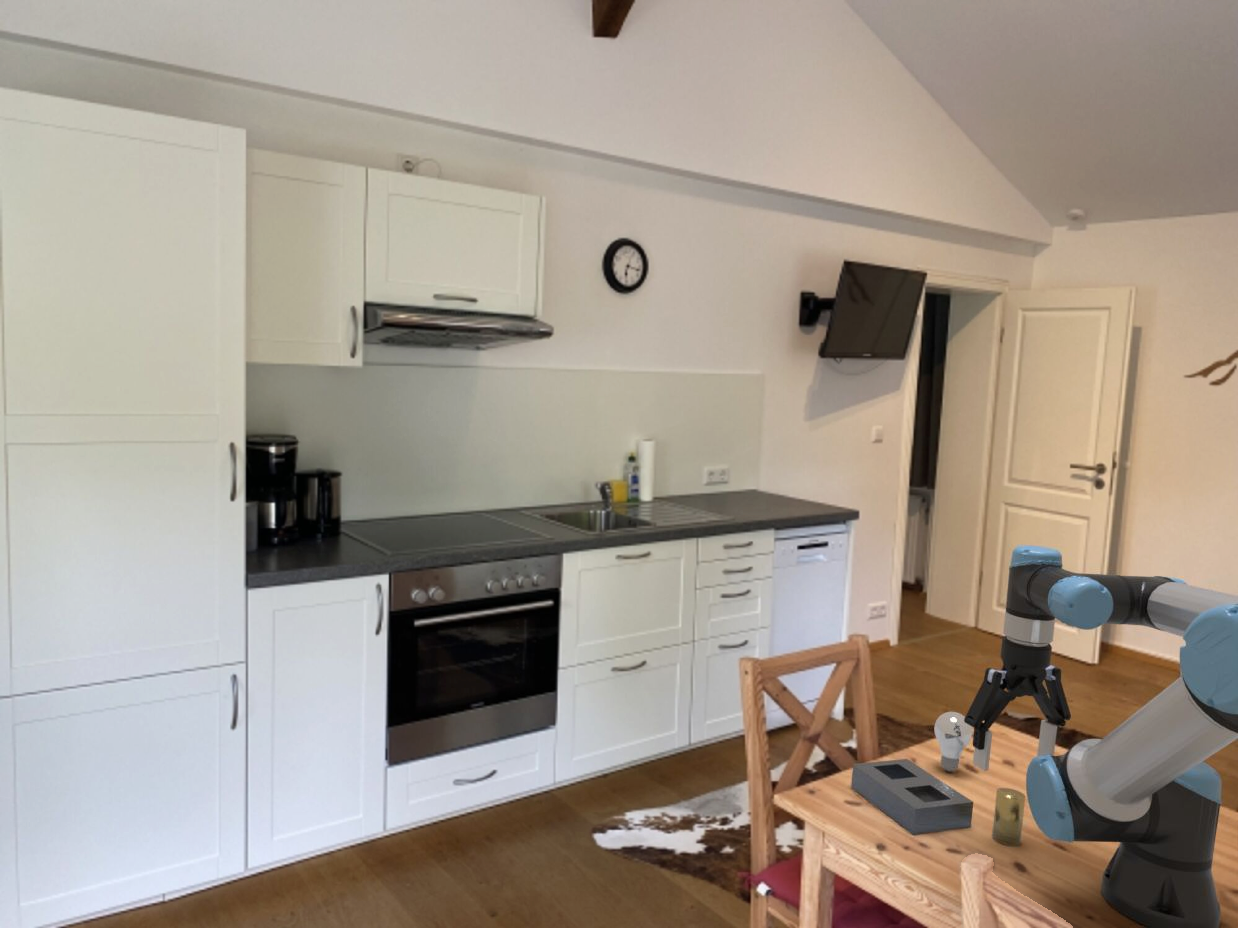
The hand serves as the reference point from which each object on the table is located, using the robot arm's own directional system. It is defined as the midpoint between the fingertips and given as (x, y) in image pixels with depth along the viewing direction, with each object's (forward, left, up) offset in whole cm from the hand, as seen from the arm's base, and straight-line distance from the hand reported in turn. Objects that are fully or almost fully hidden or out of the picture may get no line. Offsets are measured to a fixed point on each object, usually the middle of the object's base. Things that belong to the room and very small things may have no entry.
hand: (1013, 763), depth 151 cm
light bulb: (+25, -9, -13) cm, 29 cm away
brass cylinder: (0, 0, -13) cm, 13 cm away
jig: (+14, +9, -13) cm, 21 cm away
